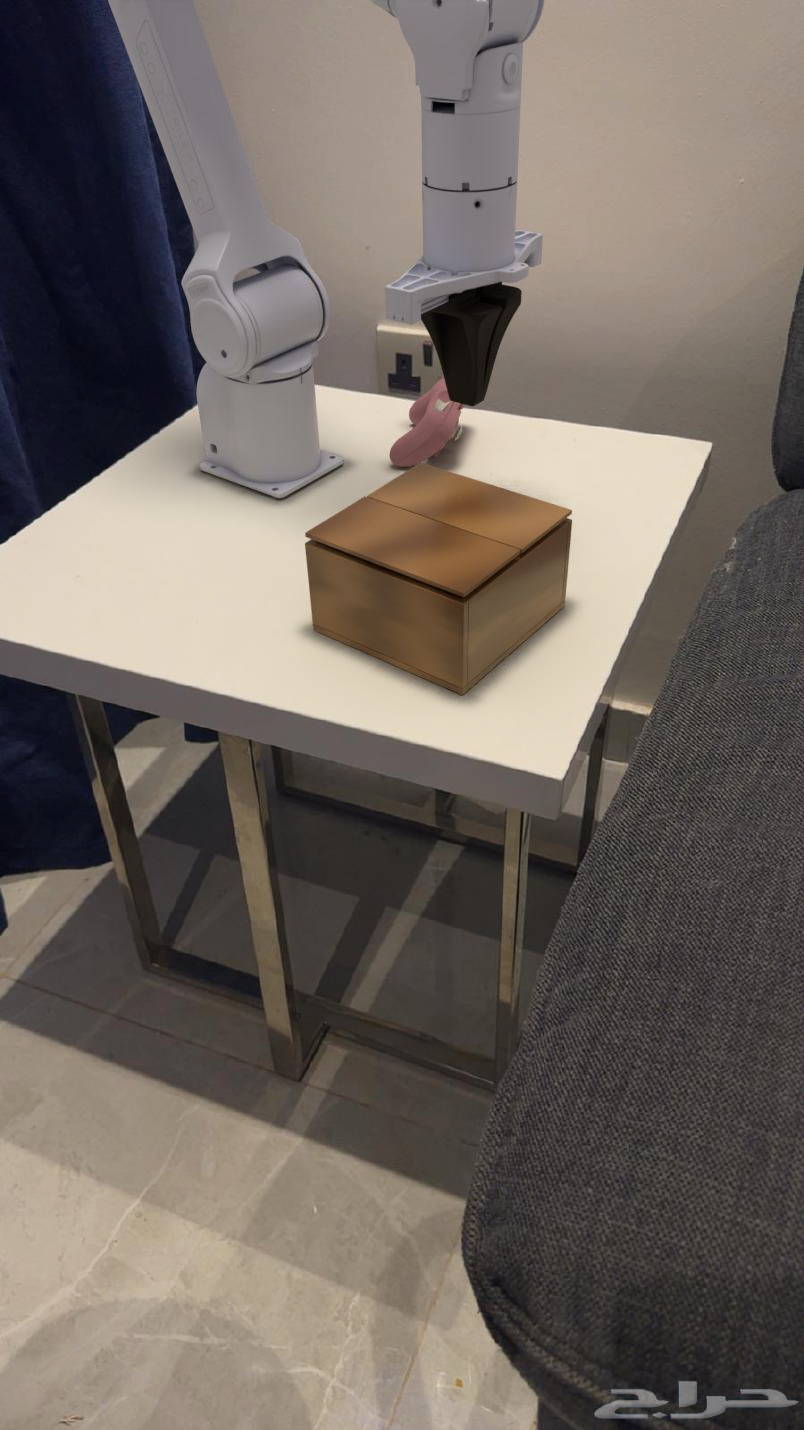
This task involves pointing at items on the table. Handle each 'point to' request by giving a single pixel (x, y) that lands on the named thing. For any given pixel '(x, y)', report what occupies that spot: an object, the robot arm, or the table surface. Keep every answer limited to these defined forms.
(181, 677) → the table surface
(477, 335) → the robot arm
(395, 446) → the video game controller
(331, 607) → the wooden box
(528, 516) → the flap
